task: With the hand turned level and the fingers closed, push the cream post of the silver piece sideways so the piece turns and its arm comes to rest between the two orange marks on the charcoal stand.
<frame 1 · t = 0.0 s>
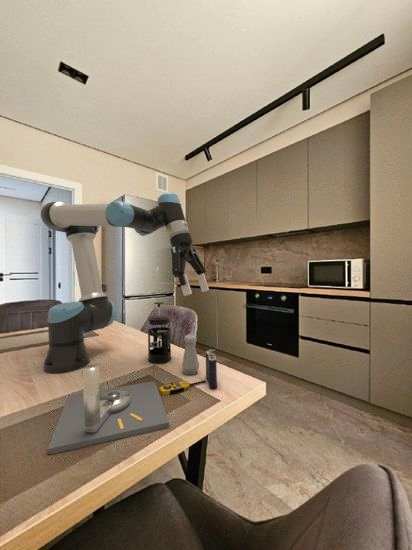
hand: (197, 293, 85), 28 cm above the table, tool tilted 20°, fingers open, 13 cm apart
salt shaker: (190, 372, 86), on the table
flask: (211, 383, 78), on the table
silver piece: (106, 384, 60), point 8 cm above the table, hinge at -25.0°
yellow walkie-talkie: (184, 389, 75), on the table
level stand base: (113, 409, 64), on the table
french press: (160, 360, 98), on the table
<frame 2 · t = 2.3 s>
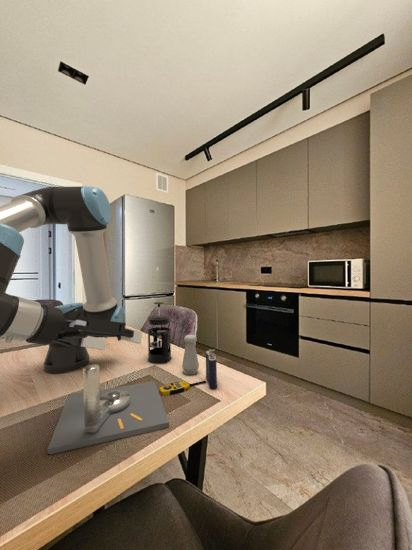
hand: (121, 341, 63), 18 cm above the table, tool tilted 65°, fingers open, 13 cm apart
nothing on the table moved.
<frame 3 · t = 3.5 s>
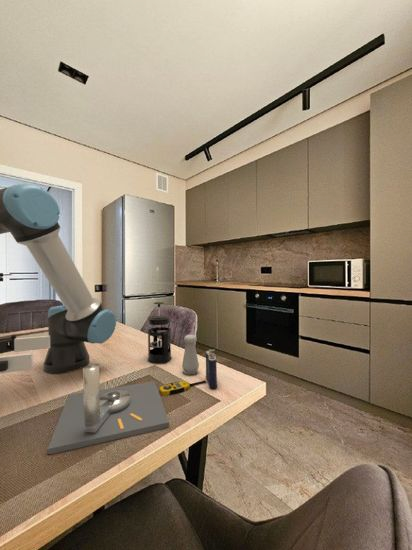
hand: (42, 350, 50), 20 cm above the table, tool horizontal, fingers open, 12 cm apart
nothing on the table moved.
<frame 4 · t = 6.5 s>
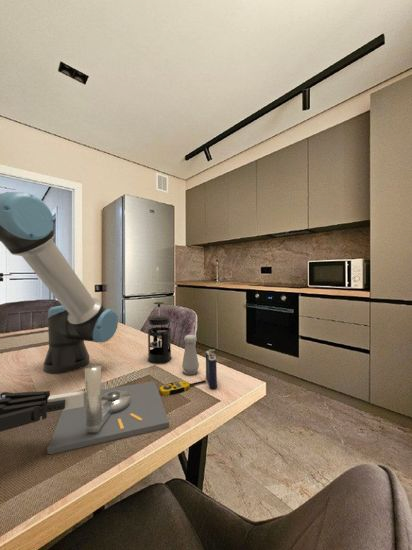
hand: (83, 398, 52), 9 cm above the table, tool horizontal, fingers closed
silver piece: (106, 385, 60), point 8 cm above the table, hinge at -22.7°, touching gripper
everything else where it was.
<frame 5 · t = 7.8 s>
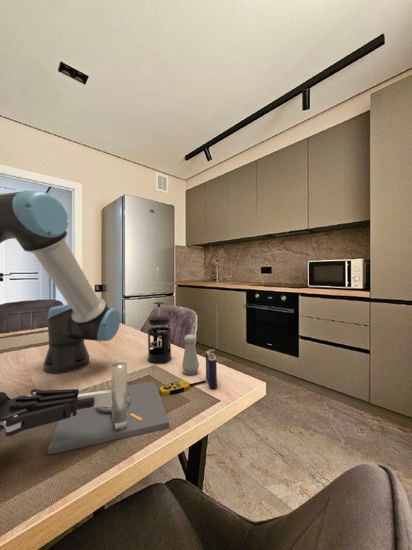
hand: (111, 397, 53), 9 cm above the table, tool horizontal, fingers closed
silver piece: (115, 384, 60), point 8 cm above the table, hinge at 8.6°, touching gripper
everything else where it was.
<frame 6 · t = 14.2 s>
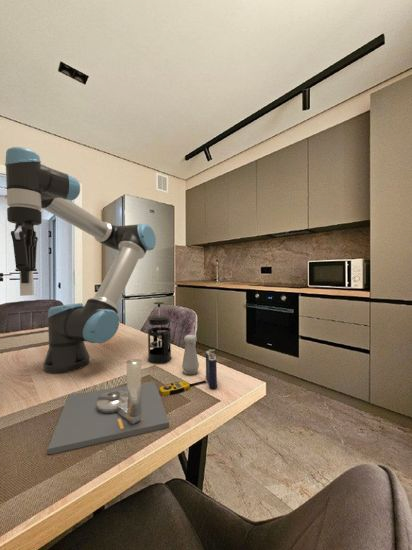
hand: (27, 295, 68), 29 cm above the table, tool pointing down, fingers closed
silver piece: (120, 382, 61), point 8 cm above the table, hinge at 27.9°
everything else where it was.
at the end: silver piece at +28° (first picture: -25°) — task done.
